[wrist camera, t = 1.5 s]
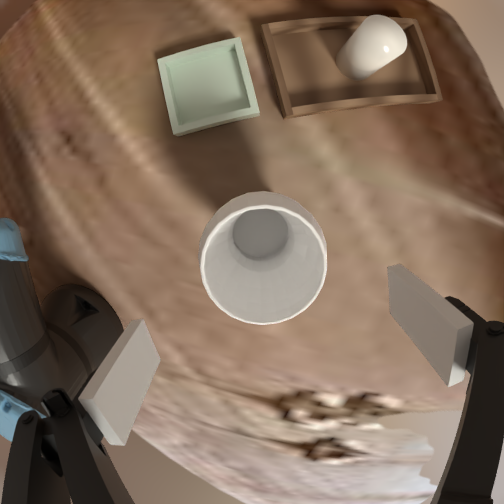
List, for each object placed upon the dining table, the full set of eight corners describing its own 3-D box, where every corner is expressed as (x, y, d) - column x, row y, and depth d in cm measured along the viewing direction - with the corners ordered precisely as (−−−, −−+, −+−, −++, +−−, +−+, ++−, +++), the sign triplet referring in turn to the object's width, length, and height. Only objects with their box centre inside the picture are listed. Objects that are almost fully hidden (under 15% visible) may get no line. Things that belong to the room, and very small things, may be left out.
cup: (200, 242, 38) (169, 290, 23) (244, 166, 35) (238, 167, 21) (273, 284, 39) (284, 351, 25) (320, 213, 37) (361, 245, 22)
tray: (283, 119, 33) (286, 115, 31) (260, 33, 30) (261, 24, 27) (431, 103, 32) (442, 100, 29) (407, 26, 29) (416, 19, 26)
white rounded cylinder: (341, 82, 31) (370, 57, 22) (331, 47, 30) (355, 14, 21) (376, 79, 31) (413, 57, 22) (366, 45, 30) (398, 15, 20)
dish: (178, 136, 34) (173, 134, 32) (163, 65, 31) (157, 59, 29) (259, 116, 33) (259, 112, 31) (240, 44, 31) (239, 36, 28)
